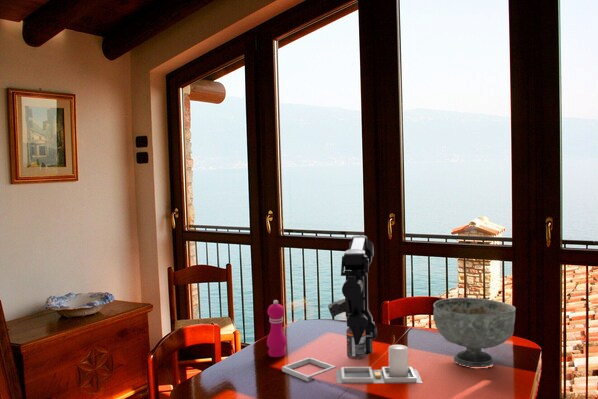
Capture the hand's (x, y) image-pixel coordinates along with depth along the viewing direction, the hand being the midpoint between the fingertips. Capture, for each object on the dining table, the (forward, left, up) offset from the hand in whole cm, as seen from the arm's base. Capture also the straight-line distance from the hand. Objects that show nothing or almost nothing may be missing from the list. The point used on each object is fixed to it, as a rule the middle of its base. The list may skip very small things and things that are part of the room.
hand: (356, 341), depth 168 cm
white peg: (-9, +9, -11) cm, 17 cm away
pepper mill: (+2, -36, -13) cm, 39 cm away
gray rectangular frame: (-4, +5, -12) cm, 14 cm away
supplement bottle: (0, 0, -5) cm, 5 cm away
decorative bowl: (-40, +18, -13) cm, 45 cm away
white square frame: (+5, -16, -12) cm, 21 cm away
